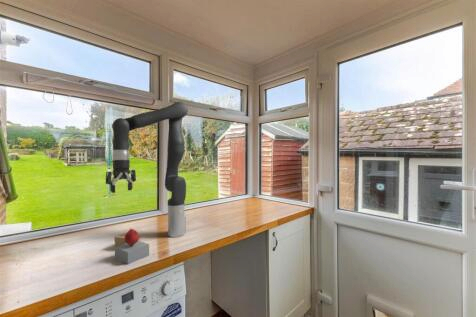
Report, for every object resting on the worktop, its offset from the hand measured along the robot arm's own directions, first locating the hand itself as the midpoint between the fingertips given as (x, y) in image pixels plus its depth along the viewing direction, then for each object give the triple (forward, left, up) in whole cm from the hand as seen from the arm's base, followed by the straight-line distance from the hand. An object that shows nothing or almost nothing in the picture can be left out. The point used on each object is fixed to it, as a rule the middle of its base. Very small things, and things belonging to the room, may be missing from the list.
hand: (121, 191), depth 111 cm
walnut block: (0, +3, -27) cm, 28 cm away
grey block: (+5, +16, -27) cm, 32 cm away
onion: (+5, +16, -22) cm, 28 cm away
